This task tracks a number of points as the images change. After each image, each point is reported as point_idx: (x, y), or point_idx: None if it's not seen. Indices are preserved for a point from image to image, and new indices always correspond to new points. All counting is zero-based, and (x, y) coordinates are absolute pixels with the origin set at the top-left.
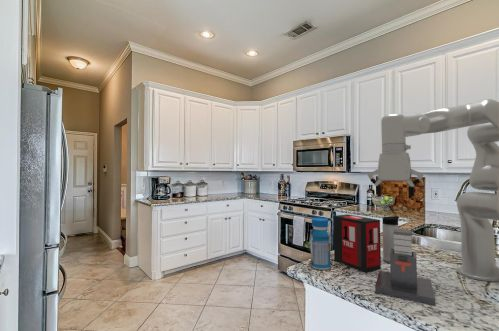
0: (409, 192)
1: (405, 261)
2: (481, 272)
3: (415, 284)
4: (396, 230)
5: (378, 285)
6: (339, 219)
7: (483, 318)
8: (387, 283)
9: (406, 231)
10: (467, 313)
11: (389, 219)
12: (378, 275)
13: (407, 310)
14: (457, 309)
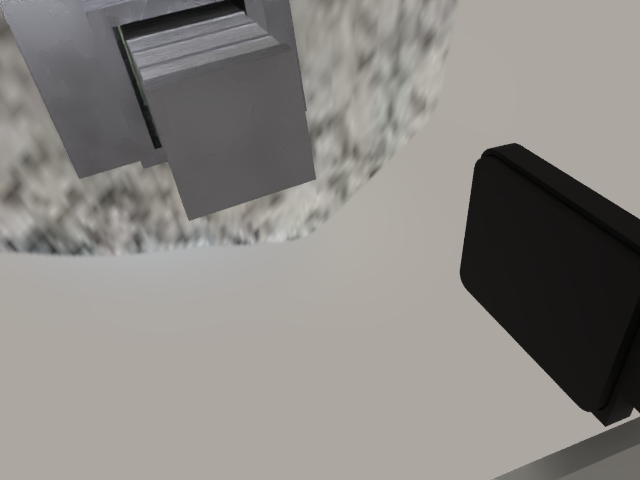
0: (530, 344)
1: None
2: None
3: None
4: (196, 170)
5: (85, 155)
6: None
7: (420, 81)
8: (104, 97)
9: (272, 145)
10: (384, 80)
11: None
12: (4, 11)
13: (229, 209)
14: (359, 71)
